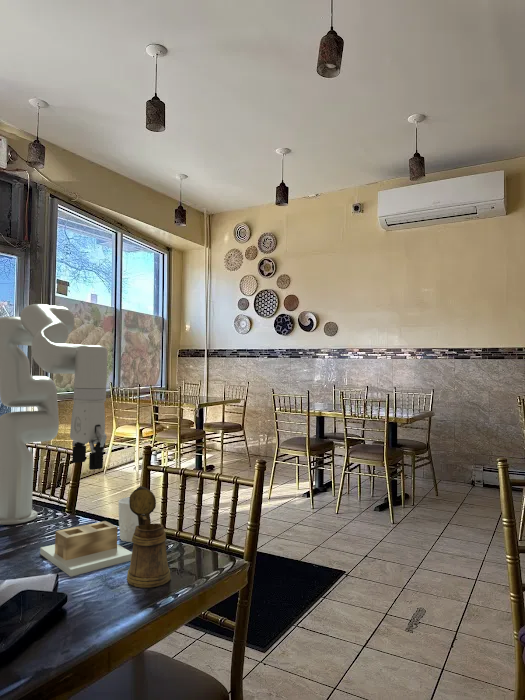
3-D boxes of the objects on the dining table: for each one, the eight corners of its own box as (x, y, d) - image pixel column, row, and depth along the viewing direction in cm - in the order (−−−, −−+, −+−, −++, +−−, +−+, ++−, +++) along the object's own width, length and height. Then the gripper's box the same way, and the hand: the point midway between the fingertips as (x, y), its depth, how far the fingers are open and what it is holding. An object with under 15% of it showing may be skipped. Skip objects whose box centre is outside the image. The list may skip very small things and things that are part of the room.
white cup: (130, 545, 128) (131, 505, 129) (111, 538, 133) (112, 500, 133) (154, 537, 134) (155, 499, 135) (135, 531, 139) (136, 494, 140)
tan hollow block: (65, 560, 113) (66, 537, 114) (54, 552, 118) (55, 531, 118) (117, 547, 122) (117, 526, 122) (104, 541, 126) (105, 520, 127)
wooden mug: (157, 561, 117) (159, 483, 118) (175, 583, 105) (177, 496, 106) (119, 567, 113) (121, 487, 114) (132, 591, 101) (135, 501, 102)
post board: (40, 553, 121) (41, 528, 121) (99, 540, 131) (99, 517, 132) (70, 576, 108) (71, 548, 108) (133, 559, 118) (134, 533, 119)
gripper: (61, 393, 127) (58, 461, 127) (90, 398, 114) (87, 473, 114) (89, 393, 132) (87, 458, 132) (120, 397, 120) (117, 470, 119)
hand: (87, 465), depth 123 cm, fingers open, 9 cm apart
